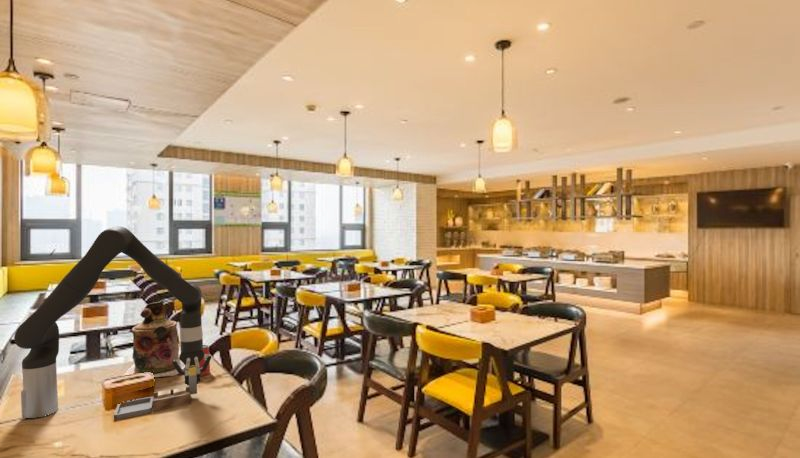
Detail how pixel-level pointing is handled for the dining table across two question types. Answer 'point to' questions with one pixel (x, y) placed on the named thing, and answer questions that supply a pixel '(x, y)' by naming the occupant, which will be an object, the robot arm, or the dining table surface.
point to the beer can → (206, 351)
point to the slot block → (171, 400)
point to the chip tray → (134, 408)
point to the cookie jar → (155, 343)
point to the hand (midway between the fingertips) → (192, 383)
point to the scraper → (192, 380)
